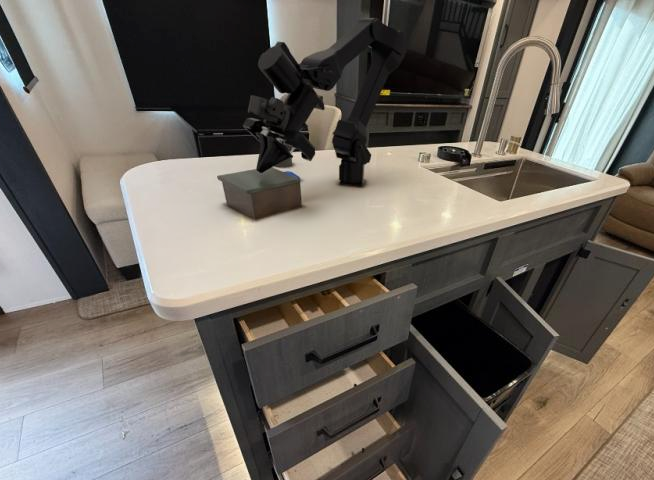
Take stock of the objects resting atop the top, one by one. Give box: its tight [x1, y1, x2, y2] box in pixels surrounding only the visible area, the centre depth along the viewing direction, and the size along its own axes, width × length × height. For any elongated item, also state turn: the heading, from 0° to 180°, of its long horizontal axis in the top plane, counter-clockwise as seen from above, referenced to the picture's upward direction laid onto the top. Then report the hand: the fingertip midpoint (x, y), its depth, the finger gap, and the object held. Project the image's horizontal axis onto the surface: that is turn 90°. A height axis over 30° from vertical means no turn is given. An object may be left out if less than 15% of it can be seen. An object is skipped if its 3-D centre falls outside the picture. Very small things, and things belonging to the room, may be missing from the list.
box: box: [221, 181, 303, 221], centre depth 73 cm, size 12×11×6 cm
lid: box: [216, 167, 301, 194], centre depth 71 cm, size 13×11×1 cm
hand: (258, 171), depth 70 cm, fingers closed
